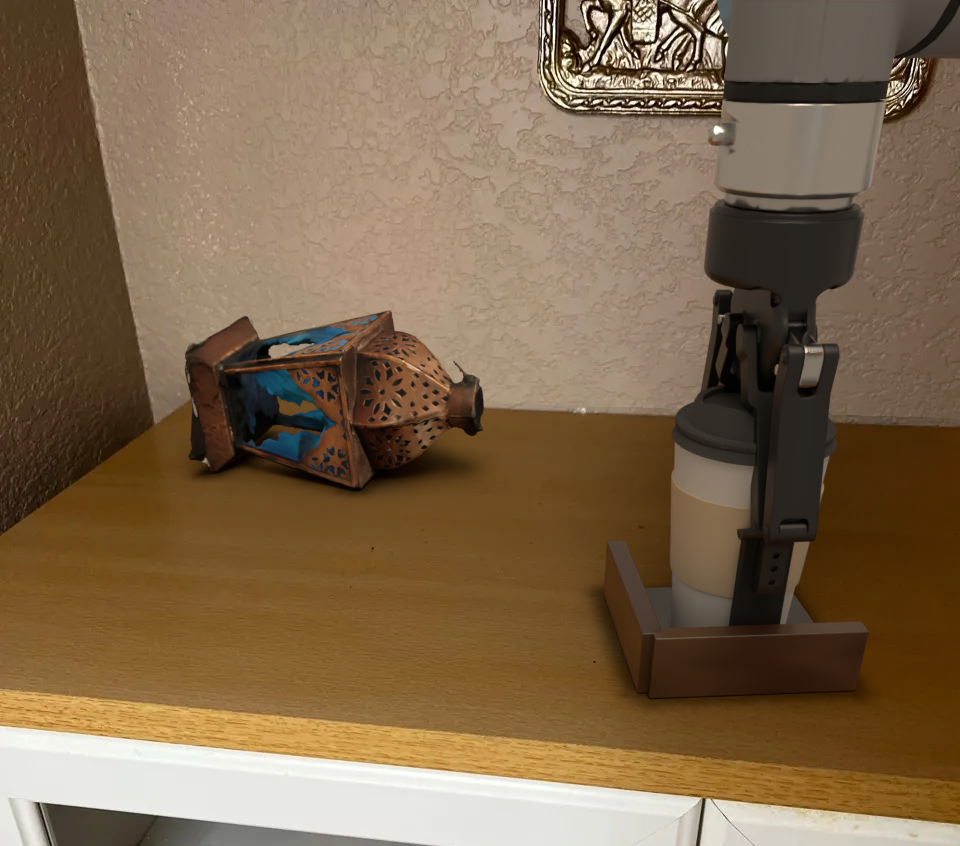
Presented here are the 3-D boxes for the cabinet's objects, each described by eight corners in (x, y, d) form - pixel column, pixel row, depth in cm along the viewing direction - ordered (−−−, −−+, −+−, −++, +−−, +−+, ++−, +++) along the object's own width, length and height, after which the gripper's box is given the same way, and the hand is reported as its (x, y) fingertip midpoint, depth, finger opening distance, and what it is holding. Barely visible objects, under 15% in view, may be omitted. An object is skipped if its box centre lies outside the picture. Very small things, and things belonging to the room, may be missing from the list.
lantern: (233, 520, 93) (488, 532, 87) (143, 431, 78) (444, 439, 72) (269, 372, 98) (514, 374, 92) (191, 261, 83) (477, 255, 77)
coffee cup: (706, 580, 67) (734, 362, 59) (827, 627, 62) (875, 392, 54) (624, 628, 62) (642, 394, 54) (749, 684, 56) (788, 432, 49)
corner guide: (785, 588, 67) (794, 535, 65) (856, 691, 56) (869, 631, 54) (603, 594, 67) (606, 540, 65) (639, 699, 56) (644, 639, 54)
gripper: (666, 175, 58) (637, 525, 70) (781, 234, 40) (715, 695, 51) (791, 174, 58) (741, 522, 70) (963, 231, 40) (856, 690, 52)
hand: (730, 595), depth 61 cm, fingers open, 9 cm apart
